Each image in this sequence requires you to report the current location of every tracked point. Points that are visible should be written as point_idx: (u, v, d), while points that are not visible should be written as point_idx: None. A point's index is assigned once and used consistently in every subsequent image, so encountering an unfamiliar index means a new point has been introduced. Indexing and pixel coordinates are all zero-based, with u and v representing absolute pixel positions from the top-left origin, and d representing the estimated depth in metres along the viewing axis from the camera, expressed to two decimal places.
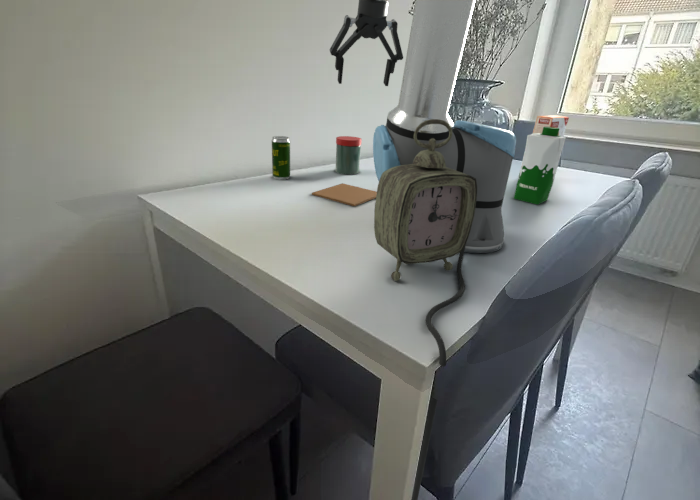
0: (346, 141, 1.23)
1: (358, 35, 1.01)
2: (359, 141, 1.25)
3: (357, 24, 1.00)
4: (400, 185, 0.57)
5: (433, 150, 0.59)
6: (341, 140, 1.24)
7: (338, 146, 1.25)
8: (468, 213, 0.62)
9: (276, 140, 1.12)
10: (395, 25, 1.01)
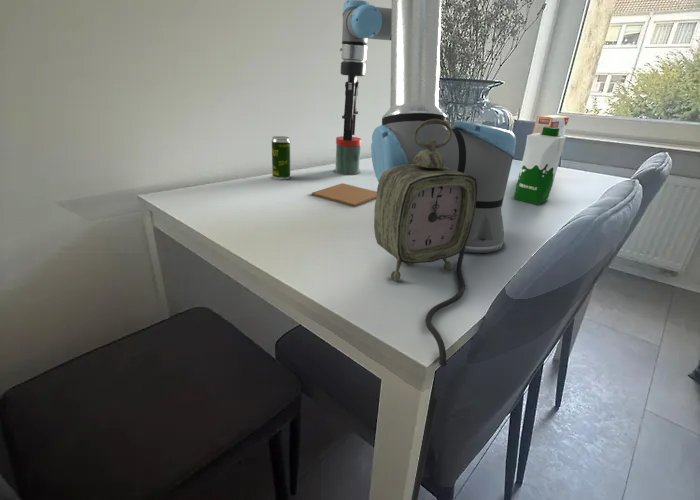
0: (346, 141, 1.23)
1: (356, 94, 1.19)
2: (359, 141, 1.25)
3: None
4: (400, 185, 0.57)
5: (433, 150, 0.59)
6: (341, 140, 1.24)
7: (338, 146, 1.25)
8: (468, 213, 0.62)
9: (276, 140, 1.12)
10: None
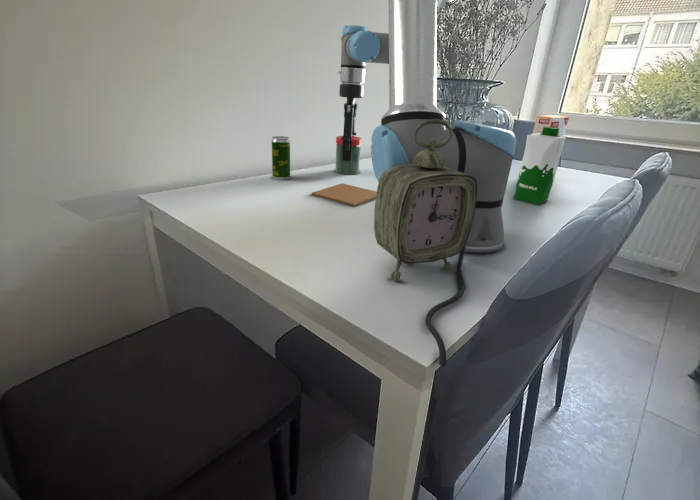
0: (361, 140, 1.26)
1: (355, 115, 1.21)
2: None
3: None
4: (400, 185, 0.57)
5: (433, 150, 0.59)
6: (358, 140, 1.24)
7: (338, 146, 1.25)
8: (468, 213, 0.62)
9: (276, 140, 1.12)
10: None
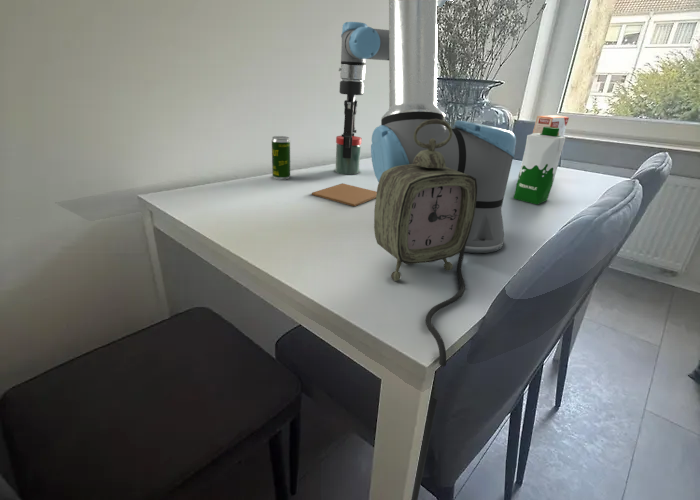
0: None
1: (355, 112, 1.21)
2: None
3: None
4: (400, 185, 0.57)
5: (433, 150, 0.59)
6: None
7: (338, 146, 1.25)
8: (468, 213, 0.62)
9: (276, 140, 1.12)
10: None
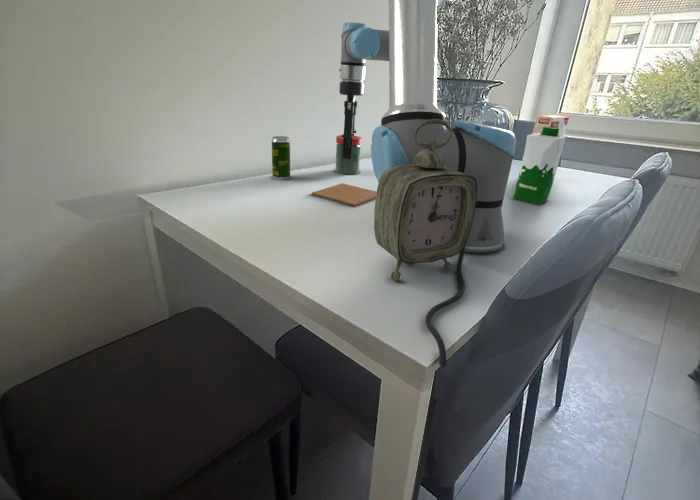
0: None
1: (355, 113, 1.21)
2: (338, 139, 1.24)
3: None
4: (400, 185, 0.57)
5: (433, 150, 0.59)
6: None
7: (338, 146, 1.25)
8: (468, 213, 0.62)
9: (276, 140, 1.12)
10: None
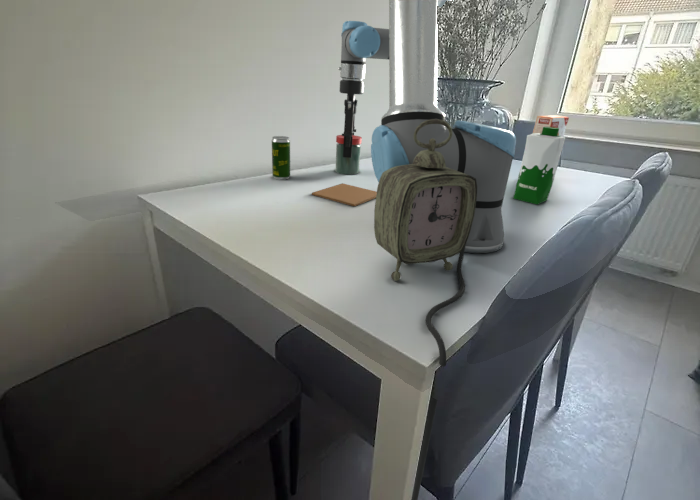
0: (341, 139, 1.24)
1: (355, 112, 1.21)
2: (355, 140, 1.23)
3: None
4: (400, 185, 0.57)
5: (433, 150, 0.59)
6: (337, 138, 1.25)
7: (338, 146, 1.25)
8: (468, 213, 0.62)
9: (276, 140, 1.12)
10: None
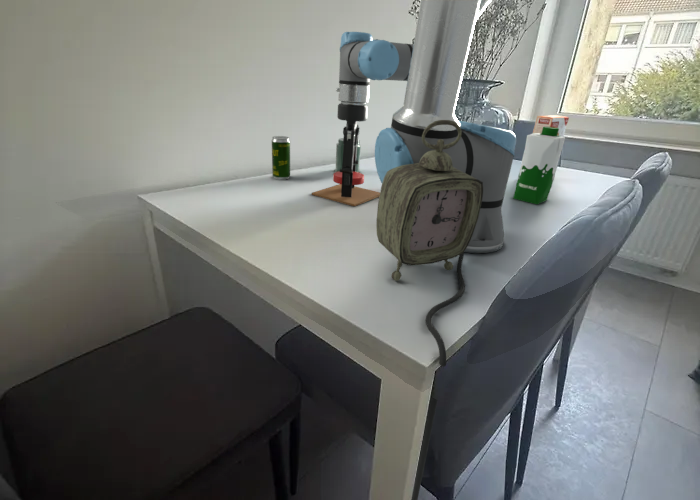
0: (338, 178, 1.01)
1: (356, 142, 0.98)
2: (356, 180, 1.01)
3: None
4: (405, 188, 0.55)
5: (441, 151, 0.57)
6: (334, 176, 1.03)
7: (338, 146, 1.25)
8: (472, 216, 0.61)
9: (276, 140, 1.12)
10: None
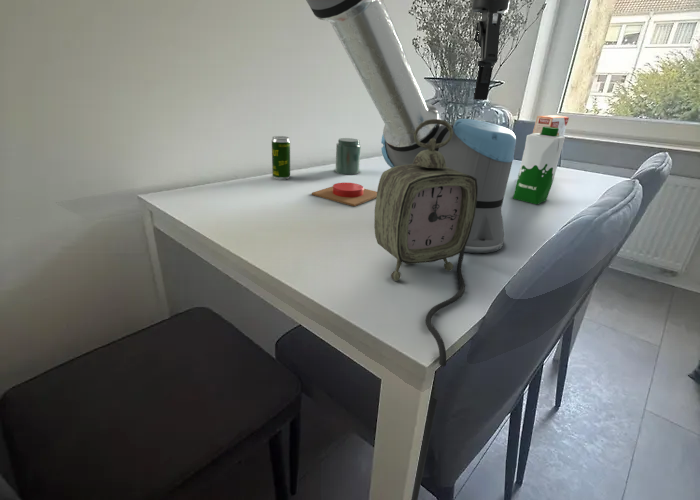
0: (338, 190, 1.03)
1: None
2: (355, 192, 1.02)
3: None
4: (400, 185, 0.57)
5: (433, 150, 0.59)
6: (334, 188, 1.04)
7: (338, 146, 1.25)
8: (468, 213, 0.62)
9: (276, 140, 1.12)
10: None
